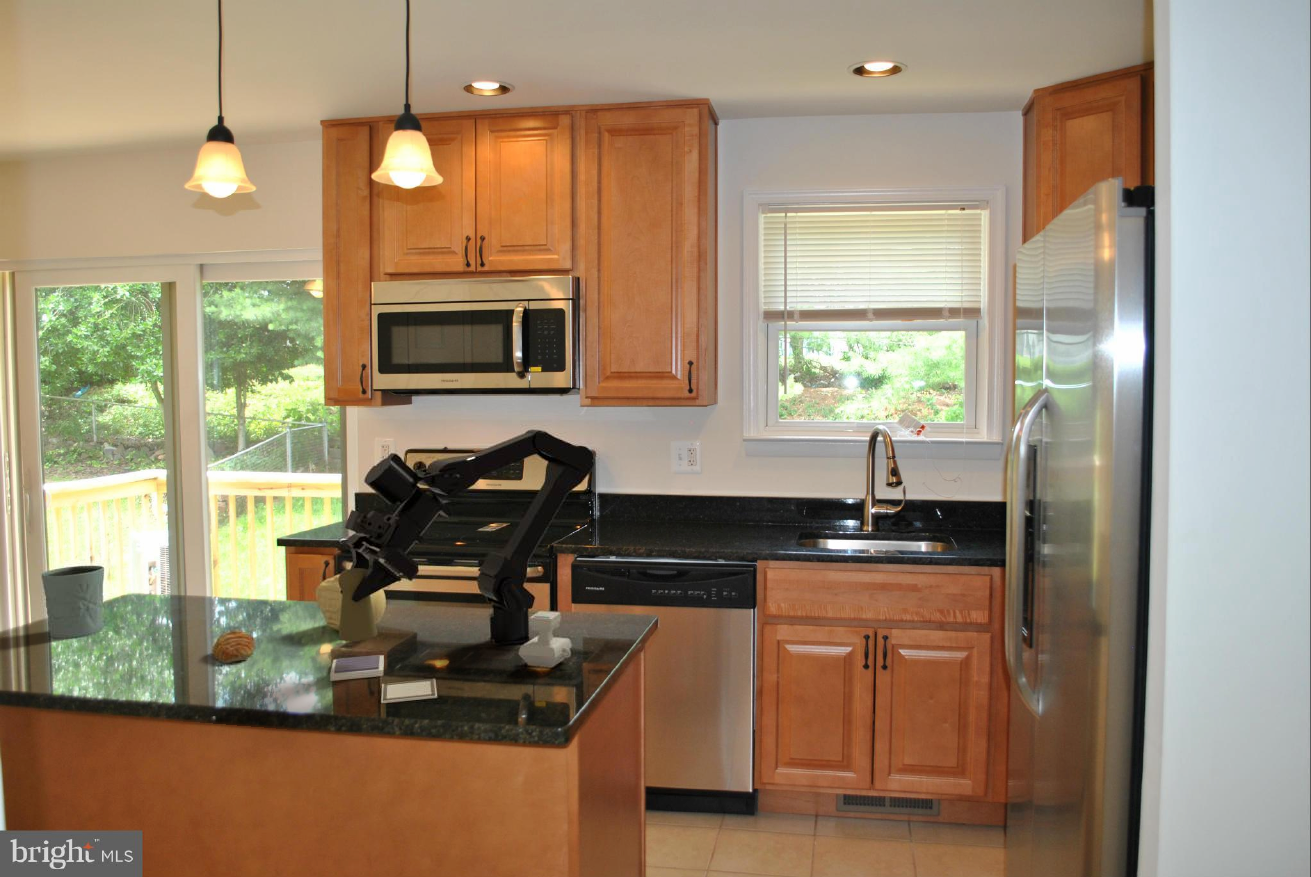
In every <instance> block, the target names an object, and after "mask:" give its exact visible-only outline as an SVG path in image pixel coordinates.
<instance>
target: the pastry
mask: <svg viewBox="0 0 1311 877" xmlns="http://www.w3.org/2000/svg"><path fill="white" fill-rule="evenodd" d="M255 644H256V643H255V640H254V637H253V636H252V635H251V634H250V633H245V631H242V630H230V631H228V632H226V633H223V634H221V635H220V636H219V637H218V638H217V639H216V642H215V643H214V644H213V646H212V650H211V652H212V654H213V657H214V658H215V659H217V661H219V662H220V663H226V664H231V663H232V662H236V661H237V662H238V661H246V660H247V661H248V659H249V658H250V657H252V656H253V655H254V652H255V650H256V645H255ZM251 655H252V656H251Z"/></svg>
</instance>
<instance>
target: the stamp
mask: <svg viewBox="0 0 1311 877" xmlns="http://www.w3.org/2000/svg"><path fill="white" fill-rule="evenodd" d="M561 621H562V616H561V612H559V611H558V612H557V611H544V610H542V611H541V610H539V611H537V612H536V613H535V614H532V616H530V617H529V627H530V629H531V630H532V631H536V632H537V636H535V637H533V639H532V638H531V640H530V641H529V642H526V643H524V644H522V645H521V646H520V648H519V650H518V655H519V656H520V657H521V659H522V660H524V662H525V663H526V664H527V666H531V667H532V666H533V667H538V666H539V668H540V667H541V668H550V669H551V668H554V667H555V666H557V665H558V664H559V663H561V662H562V661H564V660H565V659H567V658H570V657H571V654H572V652H571V648H572V647H573V644H572V641H571V640H570V639H569V638H568V637H567V638H566V637H558V636H557V637H556V636H554V635H553V630H554V629H556V628H558V627H559V626H560V625H561V624H560V622H561Z"/></svg>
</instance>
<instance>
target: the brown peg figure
mask: <svg viewBox="0 0 1311 877" xmlns="http://www.w3.org/2000/svg"><path fill="white" fill-rule="evenodd" d="M367 571H368V570H367V569H362V568H353V569H351V568H349V569H345V570H343V571H342V572H341V573H339V574H340V575H339V574H338V575H339V579H338V582H339V586H340V588H341V590H342V591H343V592H342V604H341V616H340V628H339V631H338V639H339V640H340V641H344V642H358V641H365V640H370V639H374V638H375V637H377V636H378V630H377V623H376V624H375V619H374V614H373V608H372V603H371V598H370V595H369V596H367V597H366V598H364V599H362V600H360V601H358V602H354V601H353V600H352V599H351V597H352V595H353V593H354V592H355V590H356V588H357V587H358V585H359V584H360V582H361V580H362V579H363V577H364V576H365V574H366V573H367Z"/></svg>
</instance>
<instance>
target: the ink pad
mask: <svg viewBox="0 0 1311 877" xmlns="http://www.w3.org/2000/svg"><path fill="white" fill-rule="evenodd" d="M384 656H385V654H384V655H380V654H374V655H363V656H353V657H342V658H337V659H333V662H332V665H331V666H332V667H331V669H330V674H329V678H330V679H329V680H330V682H332V681H333V682H335V681H342V680H343V681H344V680H353V679H355V680H356V679H363V678H373V677H374V678H375V677H383V676H384V663H385V659H384Z"/></svg>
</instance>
